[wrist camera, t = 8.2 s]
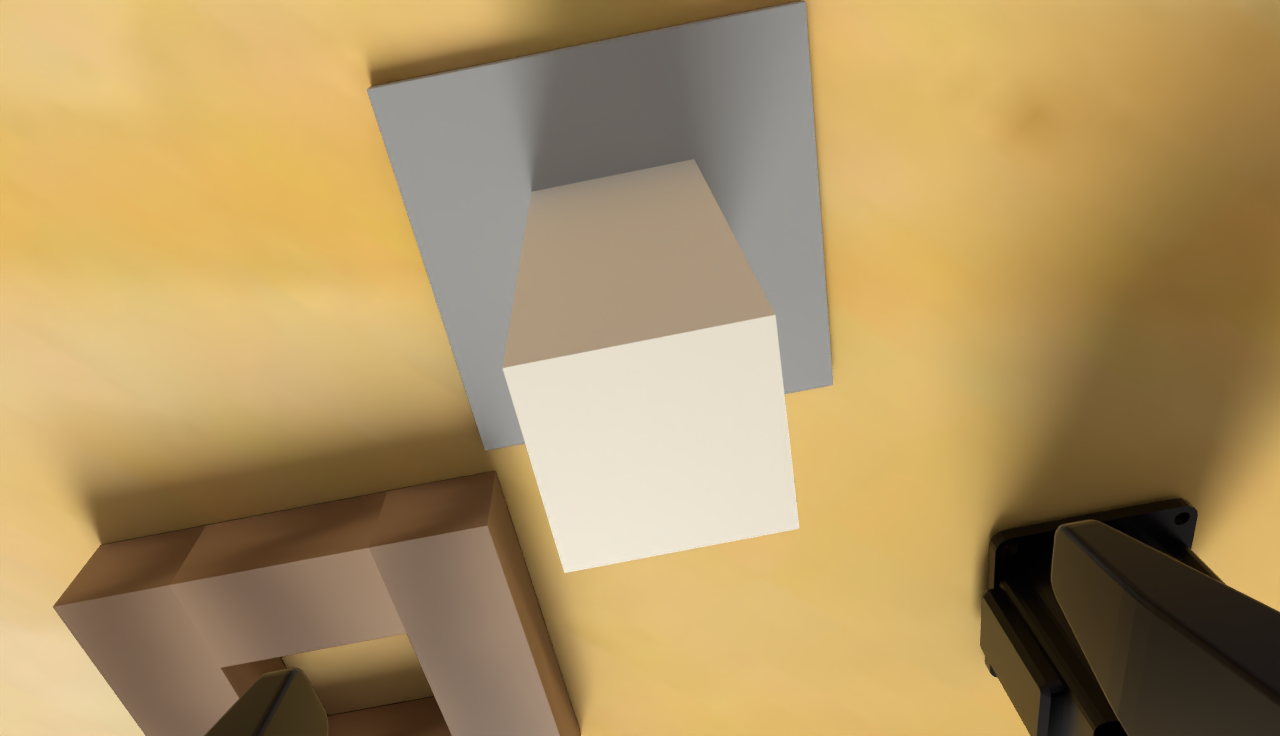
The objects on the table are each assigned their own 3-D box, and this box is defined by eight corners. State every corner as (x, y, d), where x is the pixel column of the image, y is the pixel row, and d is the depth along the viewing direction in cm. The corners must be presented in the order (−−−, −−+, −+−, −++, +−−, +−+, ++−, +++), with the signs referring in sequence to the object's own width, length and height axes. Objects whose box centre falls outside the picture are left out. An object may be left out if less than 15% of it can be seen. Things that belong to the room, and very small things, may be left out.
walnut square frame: (495, 470, 24) (487, 525, 22) (581, 734, 30) (581, 798, 27) (100, 545, 24) (52, 606, 22) (261, 792, 30) (236, 860, 28)
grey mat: (801, 0, 18) (805, 1, 18) (829, 377, 23) (832, 385, 23) (370, 86, 19) (366, 89, 18) (486, 443, 23) (485, 450, 23)
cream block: (694, 158, 20) (775, 314, 12) (716, 308, 21) (798, 528, 14) (531, 191, 20) (502, 368, 12) (567, 337, 22) (564, 573, 14)
